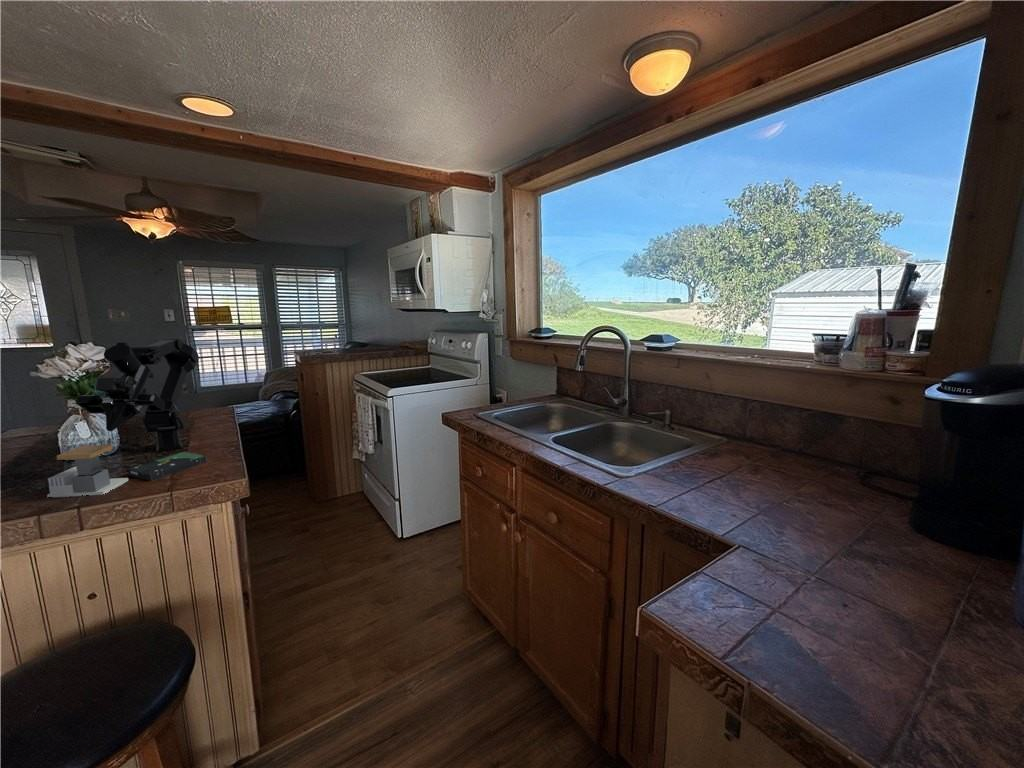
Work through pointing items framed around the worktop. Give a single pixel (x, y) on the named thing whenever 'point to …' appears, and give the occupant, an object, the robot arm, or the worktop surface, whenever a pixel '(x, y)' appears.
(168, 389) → the robot arm
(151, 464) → the disk drive
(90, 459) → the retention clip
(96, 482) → the heat sink board
